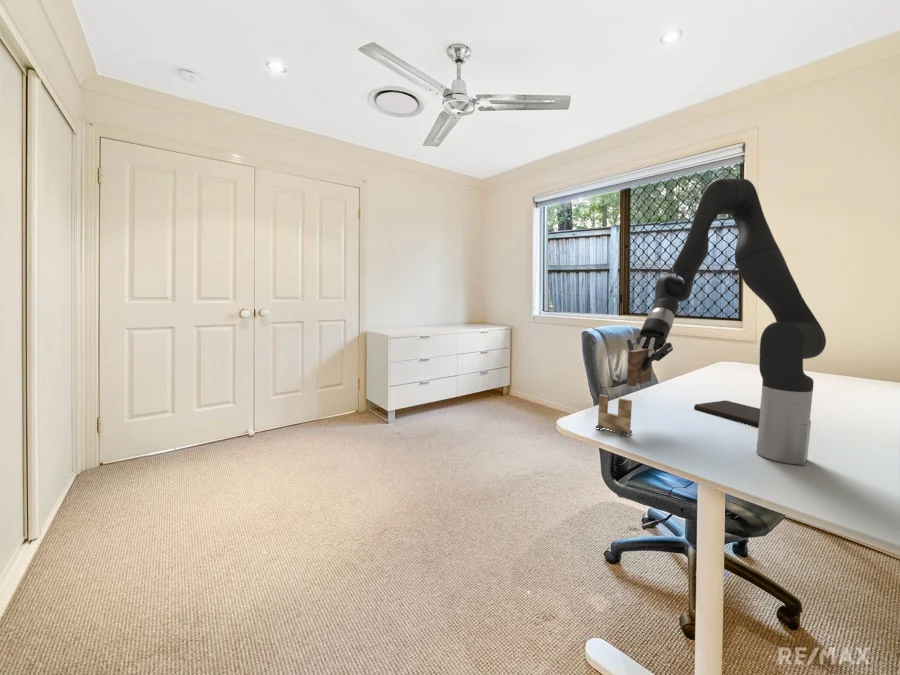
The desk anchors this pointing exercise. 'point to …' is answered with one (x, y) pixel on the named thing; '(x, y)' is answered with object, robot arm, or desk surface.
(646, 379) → the brown notched wooden panel
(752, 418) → the hardcover book
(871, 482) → the desk surface
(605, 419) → the oak upright
